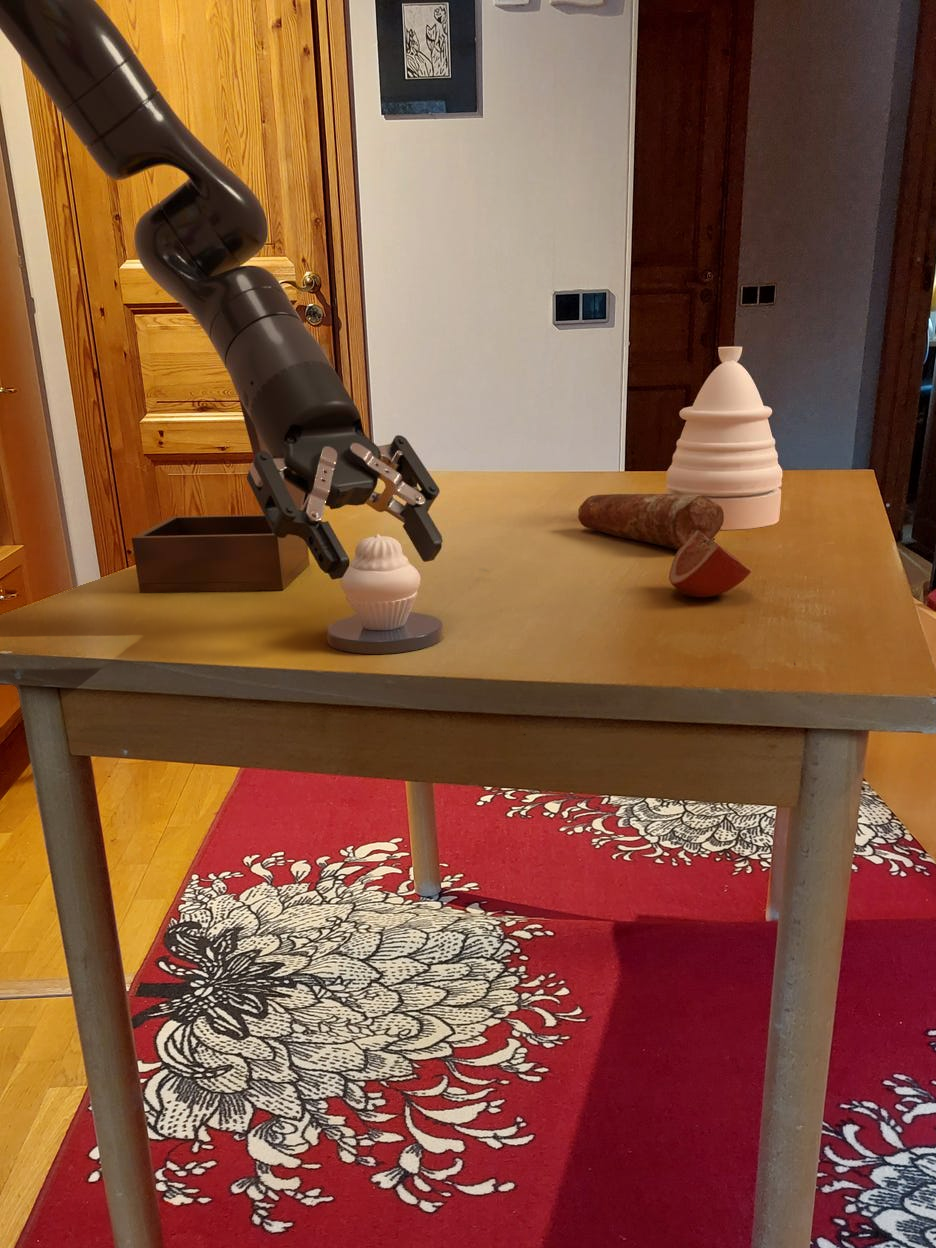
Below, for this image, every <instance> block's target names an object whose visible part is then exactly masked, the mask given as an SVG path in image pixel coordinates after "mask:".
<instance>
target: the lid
mask: <svg viewBox="0 0 936 1248" xmlns="http://www.w3.org/2000/svg"><path fill="white" fill-rule="evenodd" d="M237 396H238V395H237ZM238 400H239V405H240V408H241V413H242V416H243V420H244V425H245V428H246V431H247V435H248V439H249V443H250V444H249V445H250V447H251V453H252V455H253V459H254V458H255V455H256V453H257V452H258V451H265V452H267V453H269V454H270V452H269V450H268V448H267V446H266V445H265V443H264V441H263V439H262V438H261V436H260V434H259V432H258V430H257V429H256V427H255V425H254V423H253V422H252V420H251V418H250V416H249V414H248V413H247V411H246V409H245V407H244V406H243V404H242V402H241V400H240V398H239V396H238ZM270 455H271V454H270ZM271 457H272V455H271ZM272 459H273V457H272ZM283 481H284V483H285V485H286V487H287V489H288V492H289V494H290V496H291V498H292V500H293V502H294V504H295V506H296V508H297V510H301V505H302V501H303V496H304V492H302V491H301V490H299V489H298V488H296V487H295V486H293V485H292V484H290V483H289V482H287V481H286V480H285V479H283Z"/></svg>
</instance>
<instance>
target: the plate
mask: <svg viewBox="0 0 936 1248" xmlns="http://www.w3.org/2000/svg"><path fill="white" fill-rule="evenodd" d="M326 638H327V643H328V645H329V646H330V647H331V648H333V649H335V650H338V651H341V652H346V653H352V654H362V655H388V654H389V655H390V654H401V653H408V652H413V651H418V650H422V649H425V648H429V647H431V646H433V645H435V644H438V643H440V642H441V641H442V639H443V638H444V624H443V621H442V620H441V619H440V618H438V617H436V616H433V615H431V614H425V613H420V612H411V611H410V613H409V615H408V618H407V620H406V622H405V624H404V626H402V627H400V628H397V629H391V630H383V631H382V630H379V631H377V630H369V629H366V628H364V627H363V626H362V624H361V623H360V621H359V619H358V618H357V616H356V615H351V616H348V617H344V618H341V619H338V620H336V621H334V622H332V623H330V624H329V625H328V626H327V628H326Z"/></svg>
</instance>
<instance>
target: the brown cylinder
mask: <svg viewBox="0 0 936 1248" xmlns="http://www.w3.org/2000/svg"><path fill="white" fill-rule="evenodd" d="M577 513H578V514H577V519H578V522H579V523H580V524H581V525H582V526H583V527H584V528H586V529H589V530H594V531H597V532H601V533H605V534H608V535H611V536H615V537H619V538H623V539H627V540H628V539H630V540H635V541H640V542H644V543H649V544H653V545H658V546H662V547H664V548H669V549H672V550H677V551H678V550H679V549H680V547H682V546H683V545H684V543H685V542H686V541H687V540H688V539H689V538H690V537H691V536H692V535H693V534H694V533H695V532H696V531H697V530H698V531H700V532H702V534H704V535H705V536H706V537H707V538H708V539H709V540H710V539H713V538H715V537H716V535H717V534H718V533H719V532H720V531H721V530H720V528H721V526H722V525H723V521H724V512H723V509H722V508H721V506H719V505H718V504H716V503H714V502H713V501H711V500H710V499H709V498H707V497H706V496H705V495H695V494H665V493H610V494H607V493H606V494H596V495H595V494H594V495H591V496H588V497H587V498H586V499H585V500H584V501H583V502H582V503H581V505H580V506H579V508H578V512H577Z"/></svg>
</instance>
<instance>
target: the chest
mask: <svg viewBox="0 0 936 1248" xmlns="http://www.w3.org/2000/svg"><path fill="white" fill-rule="evenodd" d="M131 545H132V551H133V557H134V565H135V571H136V577H137V582H138V589H139V593H197V592H198V593H200V592H202V593H204V592H205V593H206V592H260V591H259V590H262V591H261V592H263V591H265V590H267V592H268V591H270V592H271V591H284V590H285V589H286V588H287V587H288V586H289V585H290V584H291V583H292V582H293V581H294V580H295V579H296V578H297V577H298V576H299V575H300V574H301V573H303V572H304V571H305V570H306V569H307V567H309V565H310V564H311V563H310V557H309V556H310V552H309V547H308V546H307V544H306V542H305V541H302V540H301V539H299V537H298V536H296V535H289V534H288V535H287V536H286V537H285V538H279V537H277V536H275V535H274V534H273V532H272V530H271V528H270V526H269V524H268V522H267V519H266V517H265V515H264V514H225V515H224V514H223V515H222V514H221V515H175V516H170V517H168V518H166V519H164V520H162V521H161V522H159V523H156V524H155V525H154V526H151V527H150V528H148V529H146V530H144V531H142V532H140V533H138V534H136V535H135V536H133V537H131ZM265 592H266V591H265Z"/></svg>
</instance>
